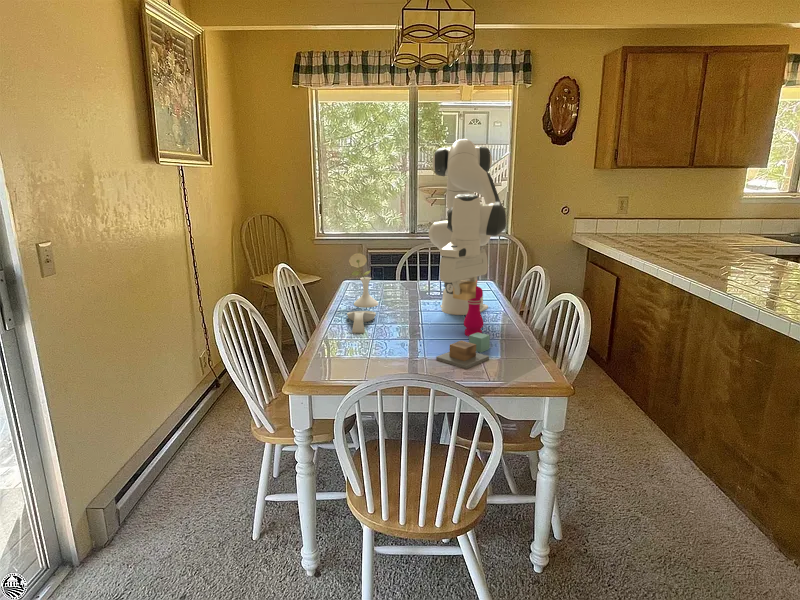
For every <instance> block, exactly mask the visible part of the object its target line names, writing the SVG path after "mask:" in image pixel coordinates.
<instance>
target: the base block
mask: <svg viewBox="0 0 800 600" xmlns="http://www.w3.org/2000/svg"><path fill="white" fill-rule="evenodd" d="M449 352H450V353H449V357H453V358H456V359H459V360H463V361H466V360H468V359H471V358H473V357H475V356H476V353H477V351H476V344H473V343H469V341H466V340H458V341H456V342H454V343H450V344H449Z"/></svg>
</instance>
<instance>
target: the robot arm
mask: <svg viewBox="0 0 800 600" xmlns="http://www.w3.org/2000/svg"><path fill="white" fill-rule="evenodd" d="M431 161H432V163H431V164H432V168H433V171H434V173H435V174H436V175H437V176H440V177H445V176H446V177H447V178H446V207H447V209H448V210H447V212H446V214H447V220H446V219H445V220H440V221H439V220H438V221H434V222H432V224H431V225H430V227H429V231H428V239H429V241H430V242H431V244H432V245H434V246H435V247H437V249H438V250H439V254H440V255H439V256H441V258H440V262H439V279H440V281H441V282H442V283H443V284H444V289H443V291H442V292H443V293H442V299H441V304H440V308H441V312H442V313H445V314H447V315H454V316H455V315H456V316H462V315H463V316H466V315H467V313H468V309H469V304H468V303H467V302H468V300H460V299H455V298H453V287H454V293H455V294H456V295H460V294H462V289H461V288H460V286H459V284H460V281H461V280H466V281H472V282H476V283H477V284H478V277H482V276H485V275H487V273H488V268H489V267H488V255H487V252H486V248H485V247H484V246H486V245H487V244H489V241H490V239H491V237H497V236H498V235H500V234H501V233H503V231H505V229H506V226H507V222H508V221H507V213H506V211H505V208H504V206H503V204H502V203H501V199H500V197H499V194H498V191H497V189H496V188H497V187H496V185H495V182H494V180H493V178H492V176H491V174H490V173H489V171H490V169H491V166H492V163H493V158H492V154H491V149H489V147H486V146H482V145H479V146H475V143H473V142H472V141H471V140H470V139H467V138H461V139H457V140H455V141H454V142H453V143H452V144H451V147H449V146H448V147H445V146H444V147H440V148H438V149H436V150H435V151H434V154H433V156H432V160H431ZM476 194H478V195H476ZM479 195H480V196H482V197H483V199H484V200H483V201H484V203H481V201H480V200H481V199H480V196H479ZM483 296H484V295H483ZM483 296H482V297H481V304H480V313H482V312H484V311H485V310H488V309H489V305H488V304H485V303H484V297H483Z"/></svg>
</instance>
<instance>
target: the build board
mask: <svg viewBox="0 0 800 600" xmlns="http://www.w3.org/2000/svg"><path fill="white" fill-rule="evenodd" d="M449 353H450V351H448V352H444V353H442V354H439V355H437V356H436V357H435V359H436V360H437V361H438V362H439V361H440V362H443V363H445V364H449V365H453V366H456V367H459V368H462V369H466V370H468V369H470V368H473V367H475V366H477V365H479V364H481V363H483V362H485V361H487V360H489V359H490V356H489V355H486V354H483V353H480V352H476V356H475V357H473V358H471V359H468V360H466V361H463V360H459V359H456V358H453V357H449Z"/></svg>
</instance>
